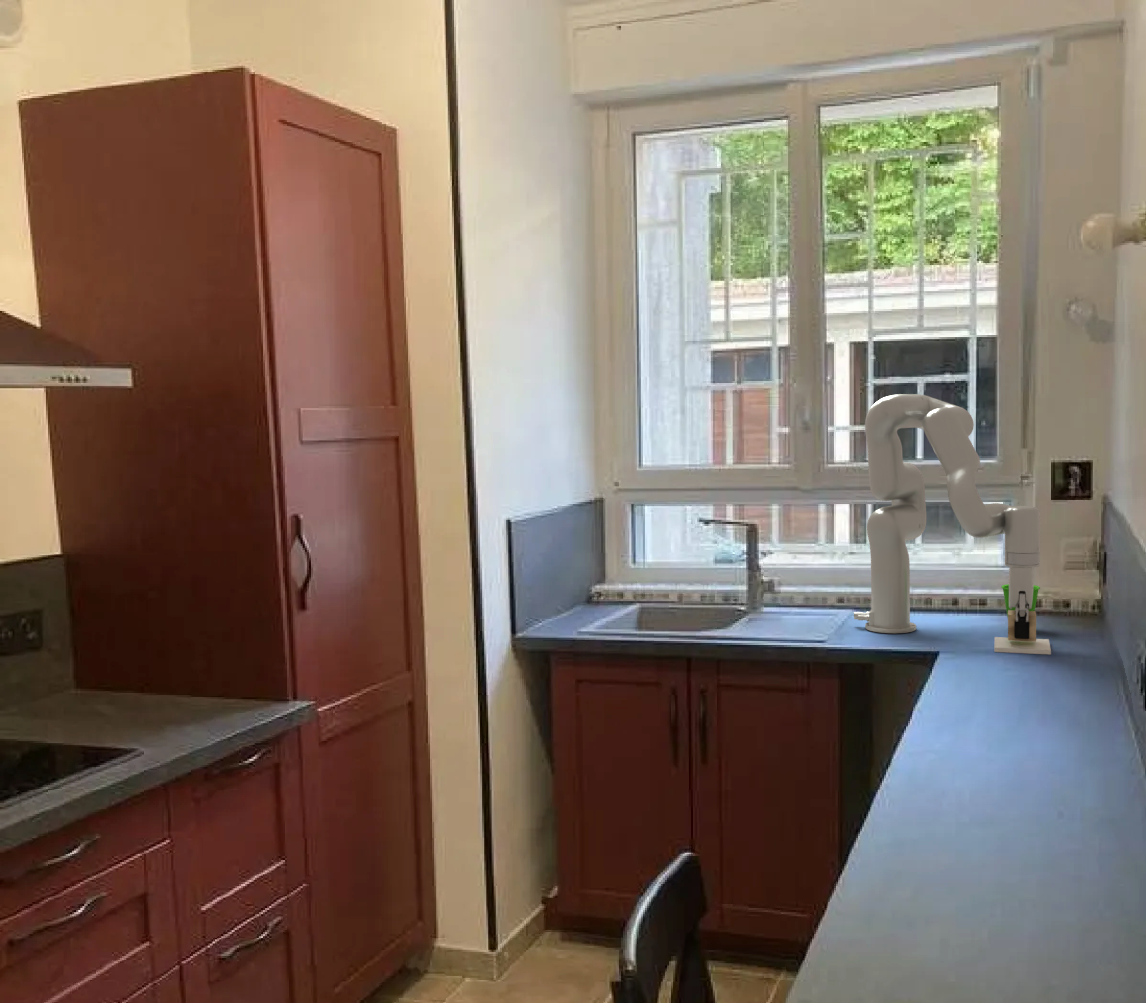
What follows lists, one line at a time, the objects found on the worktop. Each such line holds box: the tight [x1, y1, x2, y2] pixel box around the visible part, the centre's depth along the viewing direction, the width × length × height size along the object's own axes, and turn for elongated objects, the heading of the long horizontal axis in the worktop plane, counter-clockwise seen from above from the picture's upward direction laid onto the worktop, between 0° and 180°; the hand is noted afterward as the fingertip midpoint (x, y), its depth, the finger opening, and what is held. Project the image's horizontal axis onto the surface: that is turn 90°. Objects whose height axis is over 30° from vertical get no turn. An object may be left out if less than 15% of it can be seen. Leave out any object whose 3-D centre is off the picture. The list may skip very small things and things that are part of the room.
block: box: [1007, 610, 1037, 642], centre depth 259 cm, size 6×6×6 cm
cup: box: [1001, 583, 1041, 618], centre depth 278 cm, size 9×9×11 cm
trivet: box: [993, 636, 1052, 655], centre depth 259 cm, size 12×12×1 cm
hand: (1021, 634), depth 259 cm, fingers closed on block, 6 cm apart
